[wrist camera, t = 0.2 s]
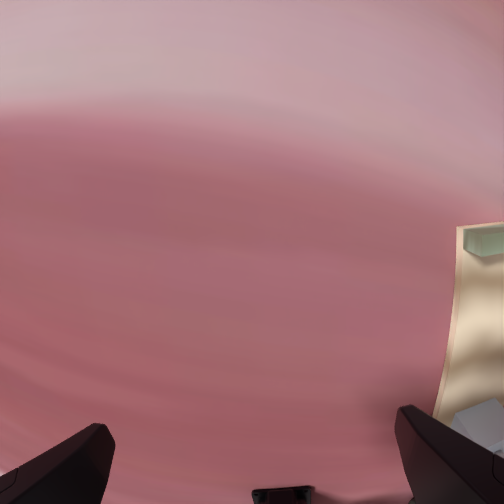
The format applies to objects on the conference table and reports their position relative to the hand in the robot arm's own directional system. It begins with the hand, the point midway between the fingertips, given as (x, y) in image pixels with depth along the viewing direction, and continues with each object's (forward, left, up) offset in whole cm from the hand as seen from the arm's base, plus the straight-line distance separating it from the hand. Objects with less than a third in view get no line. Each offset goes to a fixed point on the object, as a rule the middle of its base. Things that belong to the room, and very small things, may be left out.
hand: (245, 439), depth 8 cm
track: (-11, -21, -15) cm, 27 cm away
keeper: (-19, -21, -14) cm, 31 cm away
